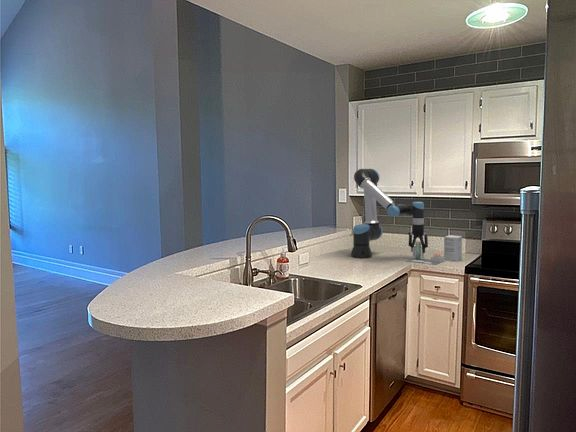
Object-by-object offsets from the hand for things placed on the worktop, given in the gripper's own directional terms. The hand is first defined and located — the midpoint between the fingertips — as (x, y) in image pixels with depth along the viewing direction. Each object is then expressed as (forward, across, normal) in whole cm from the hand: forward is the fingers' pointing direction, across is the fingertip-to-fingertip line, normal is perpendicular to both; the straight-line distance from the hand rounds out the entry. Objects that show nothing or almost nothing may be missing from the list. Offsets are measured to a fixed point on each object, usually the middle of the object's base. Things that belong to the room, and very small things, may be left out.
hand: (418, 257), depth 292 cm
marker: (+1, 0, 0) cm, 1 cm away
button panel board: (+2, +7, -5) cm, 9 cm away
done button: (0, +14, -1) cm, 14 cm away
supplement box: (+2, +20, +11) cm, 23 cm away
